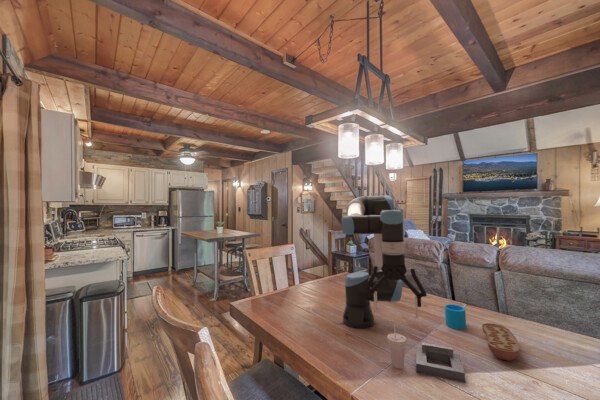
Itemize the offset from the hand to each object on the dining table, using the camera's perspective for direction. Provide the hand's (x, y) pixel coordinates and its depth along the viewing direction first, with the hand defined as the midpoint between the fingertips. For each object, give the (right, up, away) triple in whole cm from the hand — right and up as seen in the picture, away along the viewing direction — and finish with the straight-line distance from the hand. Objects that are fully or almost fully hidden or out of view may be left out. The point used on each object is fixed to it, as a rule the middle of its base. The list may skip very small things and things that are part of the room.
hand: (395, 313), depth 91 cm
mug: (+39, -18, +29) cm, 52 cm away
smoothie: (+1, -18, 0) cm, 18 cm away
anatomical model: (+43, -17, +8) cm, 47 cm away
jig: (+14, -18, -3) cm, 23 cm away
